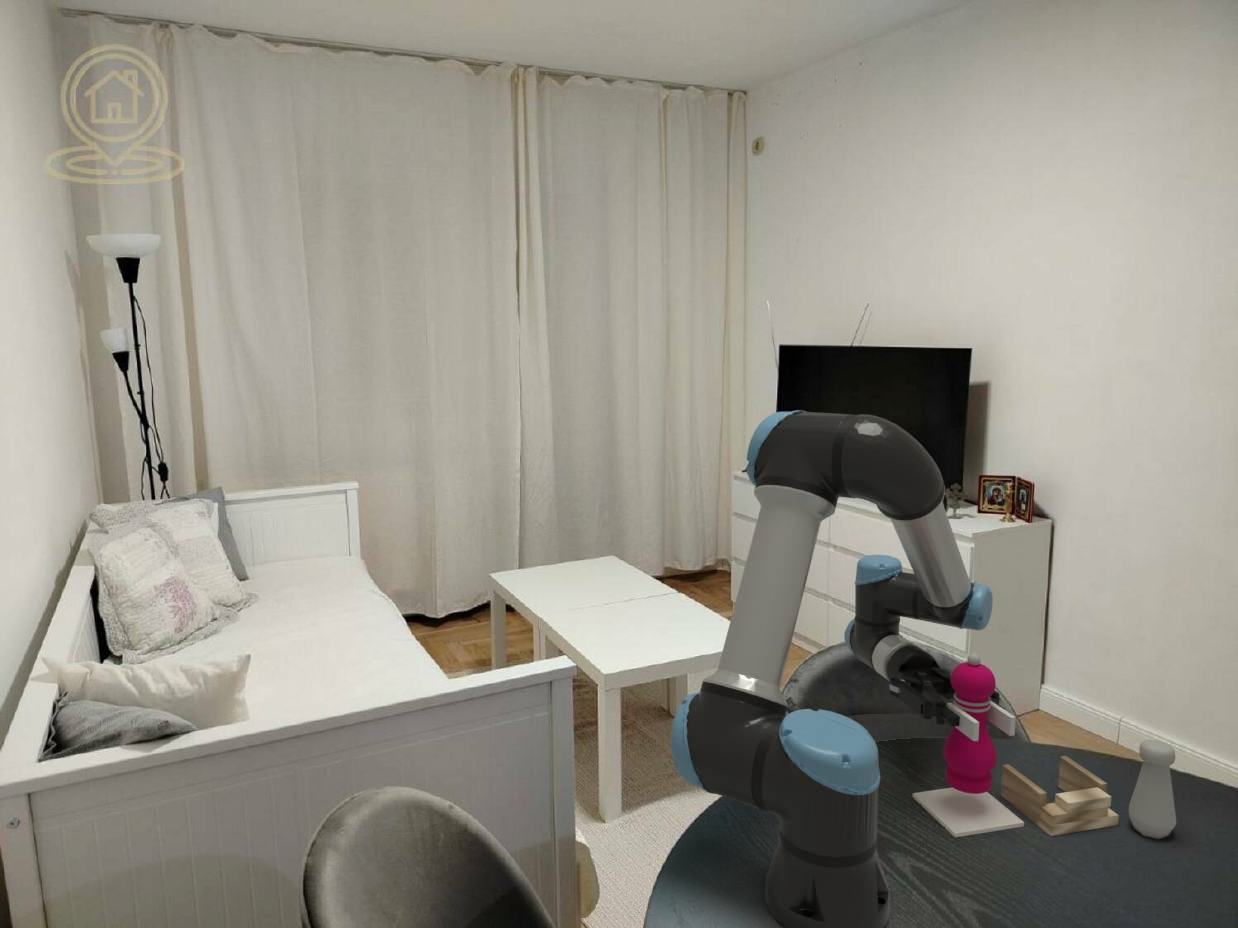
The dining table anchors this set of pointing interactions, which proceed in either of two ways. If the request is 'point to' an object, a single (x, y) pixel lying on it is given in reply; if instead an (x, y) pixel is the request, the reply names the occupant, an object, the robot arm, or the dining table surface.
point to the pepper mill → (979, 757)
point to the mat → (967, 811)
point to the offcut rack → (1061, 799)
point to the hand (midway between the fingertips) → (994, 728)
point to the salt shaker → (1154, 791)
